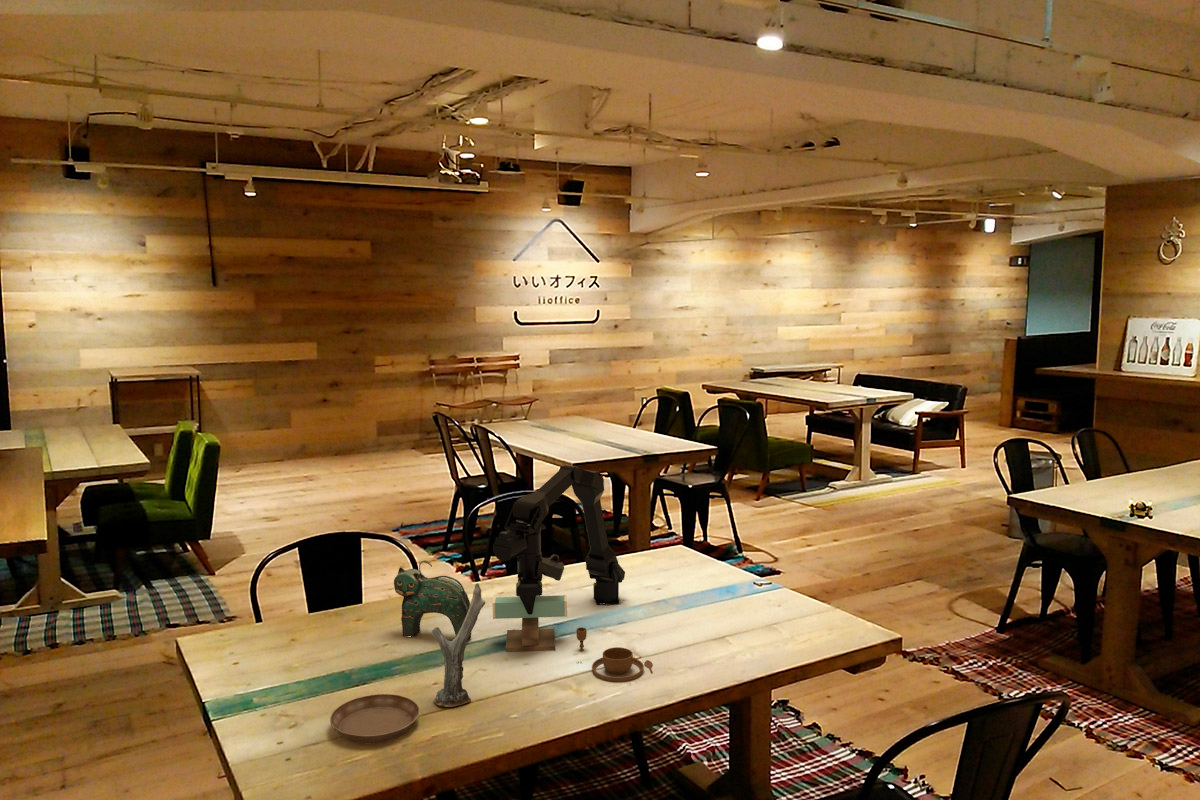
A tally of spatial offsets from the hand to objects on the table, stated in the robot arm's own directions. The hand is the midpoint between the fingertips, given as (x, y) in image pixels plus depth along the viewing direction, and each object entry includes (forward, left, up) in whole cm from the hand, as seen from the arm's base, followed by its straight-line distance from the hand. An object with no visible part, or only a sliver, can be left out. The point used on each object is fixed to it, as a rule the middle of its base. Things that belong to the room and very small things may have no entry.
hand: (530, 611), depth 227 cm
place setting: (-20, +14, -9) cm, 26 cm away
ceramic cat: (+24, -5, -8) cm, 26 cm away
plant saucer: (+31, +40, -9) cm, 51 cm away
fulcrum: (0, 0, -8) cm, 8 cm away
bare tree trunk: (+15, +29, -8) cm, 34 cm away
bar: (0, 0, -1) cm, 1 cm away
